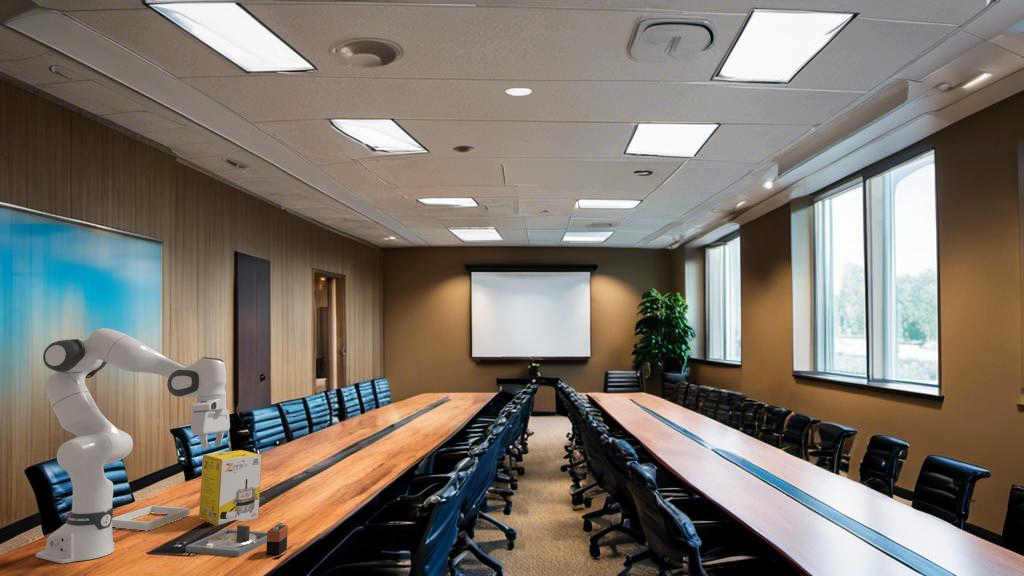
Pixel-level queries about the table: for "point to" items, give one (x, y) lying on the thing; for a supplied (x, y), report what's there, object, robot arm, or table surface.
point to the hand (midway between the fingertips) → (211, 447)
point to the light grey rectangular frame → (127, 523)
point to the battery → (277, 540)
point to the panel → (209, 548)
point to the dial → (234, 538)
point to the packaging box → (230, 487)
